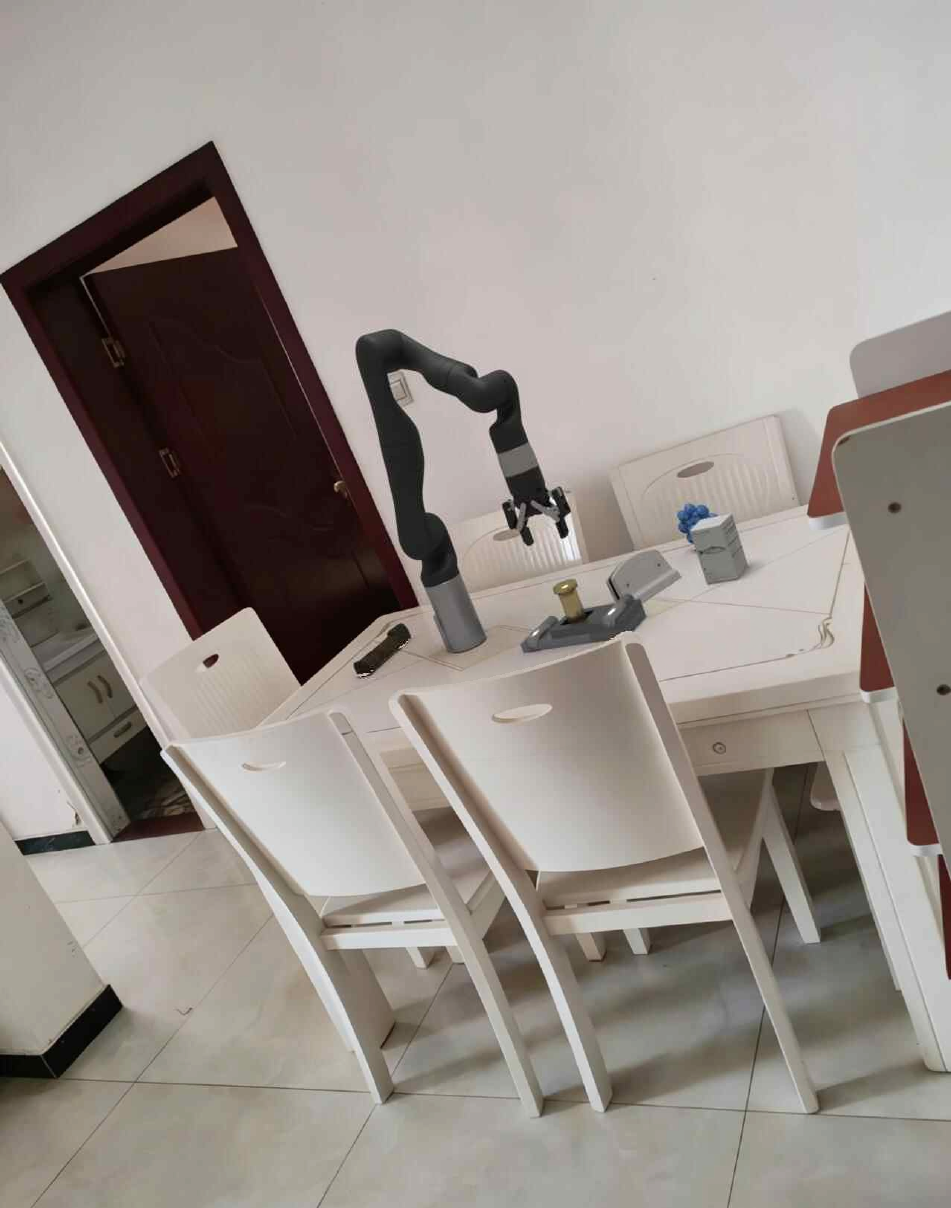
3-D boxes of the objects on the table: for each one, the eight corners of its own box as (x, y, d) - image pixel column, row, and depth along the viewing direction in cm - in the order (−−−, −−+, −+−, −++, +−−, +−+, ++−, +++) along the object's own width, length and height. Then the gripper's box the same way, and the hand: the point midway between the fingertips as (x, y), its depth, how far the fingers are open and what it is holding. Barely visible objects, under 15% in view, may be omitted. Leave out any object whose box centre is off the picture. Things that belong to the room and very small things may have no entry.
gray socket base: (522, 653, 206) (513, 631, 205) (545, 631, 215) (536, 609, 213) (626, 638, 191) (618, 613, 189) (647, 614, 199) (638, 591, 198)
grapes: (678, 559, 227) (662, 513, 224) (692, 548, 231) (676, 502, 228) (721, 553, 219) (705, 505, 216) (734, 542, 223) (718, 495, 220)
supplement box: (706, 585, 202) (687, 531, 199) (718, 571, 208) (700, 518, 205) (738, 580, 198) (720, 524, 194) (749, 566, 203) (732, 511, 200)
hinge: (633, 609, 206) (608, 570, 206) (621, 615, 210) (597, 577, 210) (682, 576, 214) (658, 539, 214) (670, 583, 218) (647, 546, 218)
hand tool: (371, 677, 234) (362, 657, 232) (357, 679, 237) (348, 659, 235) (421, 637, 251) (413, 618, 250) (407, 639, 254) (399, 620, 253)
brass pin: (567, 641, 202) (548, 591, 199) (578, 630, 206) (559, 581, 203) (588, 638, 199) (569, 587, 196) (598, 627, 203) (579, 577, 200)
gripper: (483, 482, 195) (511, 554, 199) (540, 466, 186) (568, 541, 190) (501, 470, 200) (528, 540, 204) (557, 454, 192) (584, 528, 196)
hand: (547, 541), depth 197 cm, fingers open, 8 cm apart
